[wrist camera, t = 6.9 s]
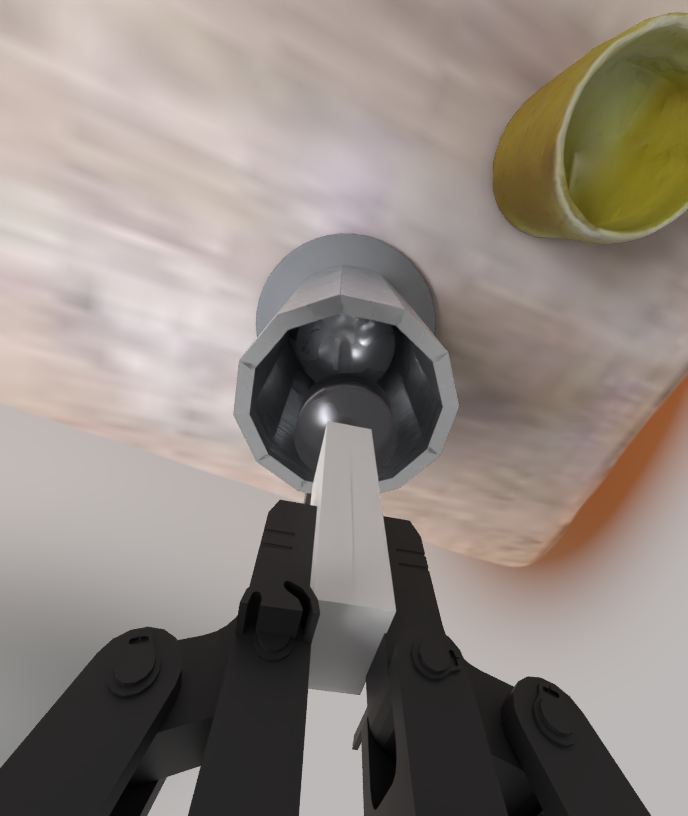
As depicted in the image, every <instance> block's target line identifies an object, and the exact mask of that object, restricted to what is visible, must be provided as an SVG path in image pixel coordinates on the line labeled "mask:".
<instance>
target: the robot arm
mask: <svg viewBox="0 0 688 816" xmlns="http://www.w3.org/2000/svg"><path fill="white" fill-rule="evenodd" d="M424 554H425V552H424V548H423V544H422V540H421V536H420V535H419V533H418V532H417V531H416V529H415V528H414V526H413V525H412V523H411V522H410V521H408V520H402V519H396V518H391V517H385V516H383V511H382V504H381V496H380V489H379V482H378V474H377V467H376V460H375V452H374V445H373V438H372V430H371V429H367V428H362V427H356V426H351V425H346V424H341V423H336V422H331V421H327V425H326V430H325V434H324V438H323V443H322V447H321V451H320V456H319V460H318V464H317V469H316V473H315V477H314V482H313V486H312V495H311V504H310V505H308V504H302V503H296V502H290V501H284V500H279V502H278V503H277V504H276V505H275V506H274V507H273V508H272V509H271V510H270V511H269V513H268V516H267V521H266V524H265V529H264V532H263V536H262V540H261V544H260V548H259V551H258V555H257V559H256V563H255V567H254V571H253V575H252V579H251V583H250V587H249V588H247V589H246V591H245V593H244V595H243V597H242V599H241V601H240V606H239V611H238V615H237V617H236V618H235V619H234V620H232V621H231V622H230V623H229V624H228V625H227V626H225V627H223V628H222V629H220V630H218V631H216V632H213V633H210V634H206V635H203V636H198V637H193V638H187V639H182V640H177V639H176V638H175V637H174V636H173V635H171V634H170V633H168V632H167V631H165V630H164V629H158V628H152V627H145V628H139V629H134V630H130V631H128V632H126V633H124V634H122V635H120V636H118V637H116V638H114V639H112V640H111V641H110V642H109V643H108V644H107V645H106V646H105V647H103V648H102V649H101V650H100V651H99V652H98V653H97V654H96V655H95V656H94V658H93V659H92V660H91V661H90V662H89V663H88V665H87V666H86V667H85V668H84V669H83V671H82V672H81V673H80V674H79V675H78V677H77V678H76V679H75V680H74V681H73V682H72V684H71V685H70V686H69V687H68V688H67V690H66V691H65V692H64V693H63V694H62V696H61V697H60V698H59V699H58V700H57V702H56V703H55V704H54V705H53V706H52V707H51V709H50V710H49V711H48V713H46V715H45V716H44V717H43V718H42V719H41V720H40V722H39V723H38V724H37V725H36V726H35V728H34V729H33V730H32V731H31V732H30V734H29V735H28V736H27V737H26V738H25V740H24V741H23V742H22V743H21V744H20V745H19V747H18V748H17V749H16V750H15V751H14V753H13V754H12V755H11V756H10V757H9V759H8V760H7V761H6V762H5V763H4V765H3V766H2V767H1V768H0V816H147V815H148V813H149V811H150V809H151V807H152V805H153V803H154V801H155V799H156V797H157V795H158V793H159V791H160V789H161V787H162V786H163V784H164V782H165V780H166V778H167V777H168V776H171V775H174V774H177V773H180V772H183V771H186V770H189V769H192V768H195V767H199V766H201V767H200V771H199V775H198V779H197V783H196V787H195V791H194V794H193V798H192V802H191V806H190V810H189V814H188V816H299V806H300V792H301V778H302V764H303V750H304V736H305V723H306V710H307V694H308V689H316V690H324V691H333V692H340V693H348V694H356V695H360V694H361V692H362V689H363V687H364V685H365V682H366V689H367V709H366V711H365V713H364V715H363V717H362V720H361V722H360V724H359V726H358V728H357V731H356V733H355V735H354V741H353V748H352V749H354V750H358V748H359V746H360V744H361V742H362V765H363V766H362V768H363V795H364V796H363V798H364V816H651V815H650V813H649V812H648V811H647V809H646V808H645V806H644V804H643V803H642V801H641V800H640V798H639V797H638V795H637V794H636V793H635V791H634V789H633V788H632V786H631V785H630V783H629V782H628V780H627V779H626V777H625V776H624V774H623V773H622V771H621V770H620V768H619V767H618V765H617V764H616V762H615V761H614V759H613V758H612V756H611V755H610V753H609V751H608V750H607V748H606V747H605V746H604V744H603V742H602V741H601V739H600V738H599V736H598V735H597V733H596V732H595V730H594V729H593V727H592V726H591V724H590V723H589V721H588V720H587V718H586V717H585V715H584V714H583V712H582V711H581V710H580V709H579V708H578V706H577V705H576V704H575V702H574V701H573V700H572V699H571V698H570V696H568V695H567V694H566V693H565V692H563V691H562V690H561V689H560V688H559V687H557V686H556V685H555V684H553V683H551V682H548V681H546V680H544V679H542V678H539V677H526V678H524V679H522V680H520V681H518V683H517V684H516V685H515V686H514V687H513V686H511V685H509V684H507V683H505V682H503V681H501V680H499V679H497V678H495V677H493V676H490V675H489V674H487V673H484V672H482V671H480V670H479V669H477V668H475V667H474V666H472V665H471V664H469V663H468V662H467V661H466V660H464V658H463V656H462V654H461V652H460V650H459V649H458V647H457V646H456V645H455V644H454V642H453V641H452V640H451V639H450V638H449V637H448V636H447V635H446V634H445V631H444V629H443V625H442V621H441V617H440V613H439V609H438V605H437V601H436V597H435V593H434V589H433V585H432V581H431V577H430V573H429V571H428V565H427V561H426V557H425V556H424Z"/></svg>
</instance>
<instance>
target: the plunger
mask: <svg viewBox="0 0 688 816" xmlns="http://www.w3.org/2000/svg"><path fill="white" fill-rule="evenodd" d="M296 348H297V354H298V358H299V361H300V363H301V365H302V367H303V369H304V370H305V372H306V373H307V374H308V375H309V376H310V377H311V378H312V379H313V380H314V381H315V382H316V383H315V384H314V385H313V386H311V387H310V389H309V390H308V391H307V392H306V394H305V396H304V398H303V400H302V403H301V406H300V410H299V414H298V418H297V422H296V426H295V431H294V443H295V447H296V450H297V453H298V455H299V457H300V458H301V460H302V461H303V463H304V464H305V465H306V466H307V467H308V468H309V469H311V470H312V471H313V472H315V473H316V469H317V464H318V460H319V456H320V451H321V447H322V443H323V438H324V434H325V430H326V425H327V421H331V422H336V423H341V424H346V425H351V426H356V427H362V428H367V429H371V430H372V438H373V445H374V452H375V460H376V467H377V472H378V471H379V470H381V469H382V468H383V467H384V466H385V465H386V464H387V463H388V461H389V460H390V459H391V457H392V455H393V453H394V451H395V448H396V444H397V430H396V426H395V422H394V418H393V414H392V410H391V406H390V402H389V400H388V397H387V396H386V394H385V392H384V391H383V390H382V388H381V387H380V386H379V385H378V384H376V383H375V382H376V381H377V380H378V379H380V378H381V377H382V375H383V374H384V373H385V372H386V370H387V369H388V367H389V365H390V364H391V361H392V358H393V355H394V350H395V337H394V332H393V329H392V326H391V324H388V323H384V322H379V321H375V320H370V319H366V318H361V317H357V316H352V315H348V314H344V313H339V314H336V315H333V316H330V317H327V318H324V319H320V320H317V321H314V322H311V323H308V324H305V325H301V326H300V327H299V329H298V333H297V340H296Z"/></svg>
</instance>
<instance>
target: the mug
mask: <svg viewBox="0 0 688 816" xmlns="http://www.w3.org/2000/svg"><path fill="white" fill-rule="evenodd" d="M493 192H494V195H495V199H496V202H497V204H498V207H499V209H500V211H501V212H502V214H503V215H504V217H505V218H506V219H507V220H508V221H509V222H510V223H511V224H512V225H513V226H514V227H516V228H517V229H519V230H521V231H523V232H525V233H527V234H530V235H533V236H537V237H546V238H557V237H561V238H566V239H572V240H577V241H581V242H587V243H597V244H613V243H622V242H628V241H632V240H636V239H640V238H642V237H645V236H647V235H650V234H652V233H654V232H656V231H658V230H659V229H661V228H663V227H665V226H667V225H668V224H670V223H672V222H673V221H674V220H676V219H677V218H678V217H679V216H681V215H682V214H683V213H684V212H685V211H686V210H687V209H688V13H669V14H665V15H661V16H658V17H654V18H651V19H647V20H645V21H643V22H641V23H639V24H638V25H636V26H634V27H632V28H631V29H629V30H627V31H625V32H624V33H622V34H620V35H618V36H617V37H615V38H613V39H611V40H609V41H607V42H605V43H603V44H601V45H599V46H598V47H596V48H594V49H592V50H591V51H590V52H589V53H588V54H586V55H585V56H584V57H583V58H582V59H580V60H579V61H577V62H576V63H575V64H573V65H572V66H570V67H569V68H567V69H566V70H565V71H564V72H562V73H561V74H560V75H558V76H557V77H556V78H554V79H553V80H552V81H550V82H549V83H548V84H547V85H545V86H544V87H542V88H541V89H540V90H538V91H537V92H536V93H535V94H534V95H533V96H532V97H530V98H529V99H528V100H527V101H526V102H525V103H524V104H523V105H522V106H521V108H520V109H519V110H518V111H517V112H516V114H515V115H514V116H513V118H512V119H511V120H510V122H509V123H508V125H507V127H506V129H505V131H504V133H503V135H502V137H501V139H500V142H499V145H498V148H497V151H496V154H495V158H494V164H493Z"/></svg>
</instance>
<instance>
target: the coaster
mask: <svg viewBox="0 0 688 816" xmlns="http://www.w3.org/2000/svg"><path fill="white" fill-rule="evenodd" d="M342 264H344V265H348V266H356V267H361V268H365V269H368V270H370V271H373V272H378V273H380V274H381V275H382V276H383V277H384V278H385V279H386V280H387V281H388V282H389V283H390V284H391V285H392V286H393V288H394V289H395V290H396V291H397V292H398V293H399V294H400V295H401V296H402V297H403V298H404V299H405V300H406V301H407V302H408V304H409V305H410V306H411V307H412V308H413V310H414V311H415V312H416V313H417V315H418V316H419V317H420V318H421V319H422V321H423V322H424V323H425V324H426V326H427V327H428V328H429V329H430V331H431V332H432V333H433V334H434V335H435V311H434V304H433V301H432V297H431V293H430V291H429V289H428V286H427V284H426V282H425V280H424V279H423V277H422V275H421V274H420V272H419V271H418V269H417V268H416V267H415V266H414V265H413V263H412V262H411V261H410V260H409V259H408V258H407V257H406V256H404V255H403V254H402V253H401V252H399V251H398V250H397V249H395V248H394V247H392V246H390V245H388V244H386V243H384V242H382V241H380V240H378V239H375V238H371V237H368V236H364V235H358V234H334V235H327V236H324V237H320V238H316V239H314V240H312V241H309V242H307V243H305V244H303V245H301V246H300V247H298V248H296V249H295V250H293V251H292V252H291V253H290V254H288V255H287V256H286V257H285V258H284V259H283V260H282V261H281V262H280V263H279V264H278V265H277V266H276V267H275V269H274V270H273V272H272V273H271V275H270V276H269V277H268V279H267V281H266V283H265V285H264V287H263V289H262V292H261V295H260V298H259V302H258V307H257V313H256V331H257V338H258V336H259V335H260V334H261V333H262V331H263V330H264V329H265V327H266V326H267V325H268V324H269V322H270V321H271V320H272V319H273V317H274V316H275V315H276V314H277V312H278V311H279V310H280V309H281V307H282V306H283V305H284V304H285V302H286V301H287V300H288V299H289V298H290V296H291V295H292V294H293V293H294V292H295V290H296V289H297V288H298V287H299V286H300V284H301V283H302V282H303V281H304V280H305V278H306V277H307V276H309V275H312V274H315V273H317V272H319V271H321V270H324V269H326V268H330V267H334V266H339V265H342Z"/></svg>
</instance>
